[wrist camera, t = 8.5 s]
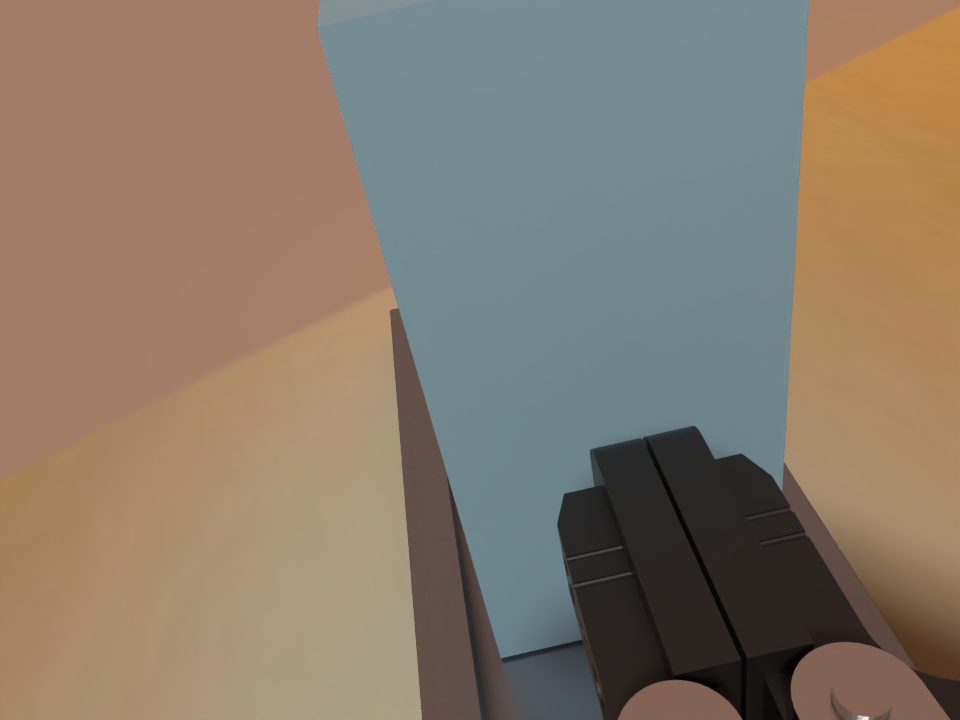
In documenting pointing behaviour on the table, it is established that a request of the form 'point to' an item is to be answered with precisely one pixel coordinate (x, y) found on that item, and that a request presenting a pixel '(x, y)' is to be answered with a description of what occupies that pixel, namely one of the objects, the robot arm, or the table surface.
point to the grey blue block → (578, 243)
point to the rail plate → (461, 608)
